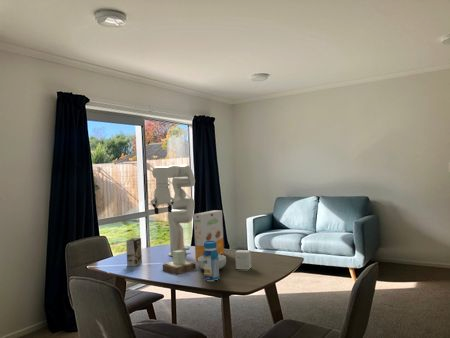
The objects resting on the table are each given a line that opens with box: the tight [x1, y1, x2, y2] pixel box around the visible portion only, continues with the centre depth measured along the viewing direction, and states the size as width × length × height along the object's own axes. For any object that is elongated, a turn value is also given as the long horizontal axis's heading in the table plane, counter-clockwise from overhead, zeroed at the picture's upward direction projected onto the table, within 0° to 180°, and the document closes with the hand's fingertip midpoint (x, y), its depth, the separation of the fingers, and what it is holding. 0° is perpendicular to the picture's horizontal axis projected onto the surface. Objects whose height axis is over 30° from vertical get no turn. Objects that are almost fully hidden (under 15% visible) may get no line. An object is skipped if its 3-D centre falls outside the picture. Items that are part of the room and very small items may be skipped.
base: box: [162, 259, 197, 275], centre depth 217 cm, size 14×14×4 cm
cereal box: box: [193, 209, 225, 261], centre depth 246 cm, size 22×6×30 cm, turn 143°
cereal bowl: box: [197, 254, 227, 270], centre depth 215 cm, size 17×17×7 cm
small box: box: [234, 249, 252, 270], centre depth 212 cm, size 8×6×10 cm
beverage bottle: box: [203, 241, 220, 282], centre depth 195 cm, size 8×8×20 cm
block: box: [172, 250, 186, 264], centre depth 217 cm, size 5×5×7 cm
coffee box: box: [125, 237, 143, 267], centre depth 235 cm, size 9×6×16 cm
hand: (163, 213), depth 232 cm, fingers open, 9 cm apart
